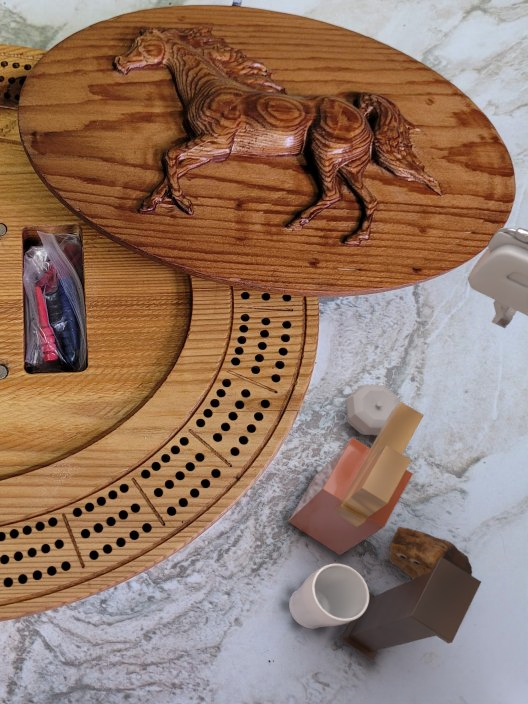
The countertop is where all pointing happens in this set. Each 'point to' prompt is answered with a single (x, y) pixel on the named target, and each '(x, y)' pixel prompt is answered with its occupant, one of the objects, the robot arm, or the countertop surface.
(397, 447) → the tan stepped wooden block
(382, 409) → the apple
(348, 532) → the terracotta block
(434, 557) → the brown rounded lump
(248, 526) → the countertop surface
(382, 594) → the walnut shelf
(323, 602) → the white cup
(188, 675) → the countertop surface
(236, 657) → the countertop surface
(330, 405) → the countertop surface
